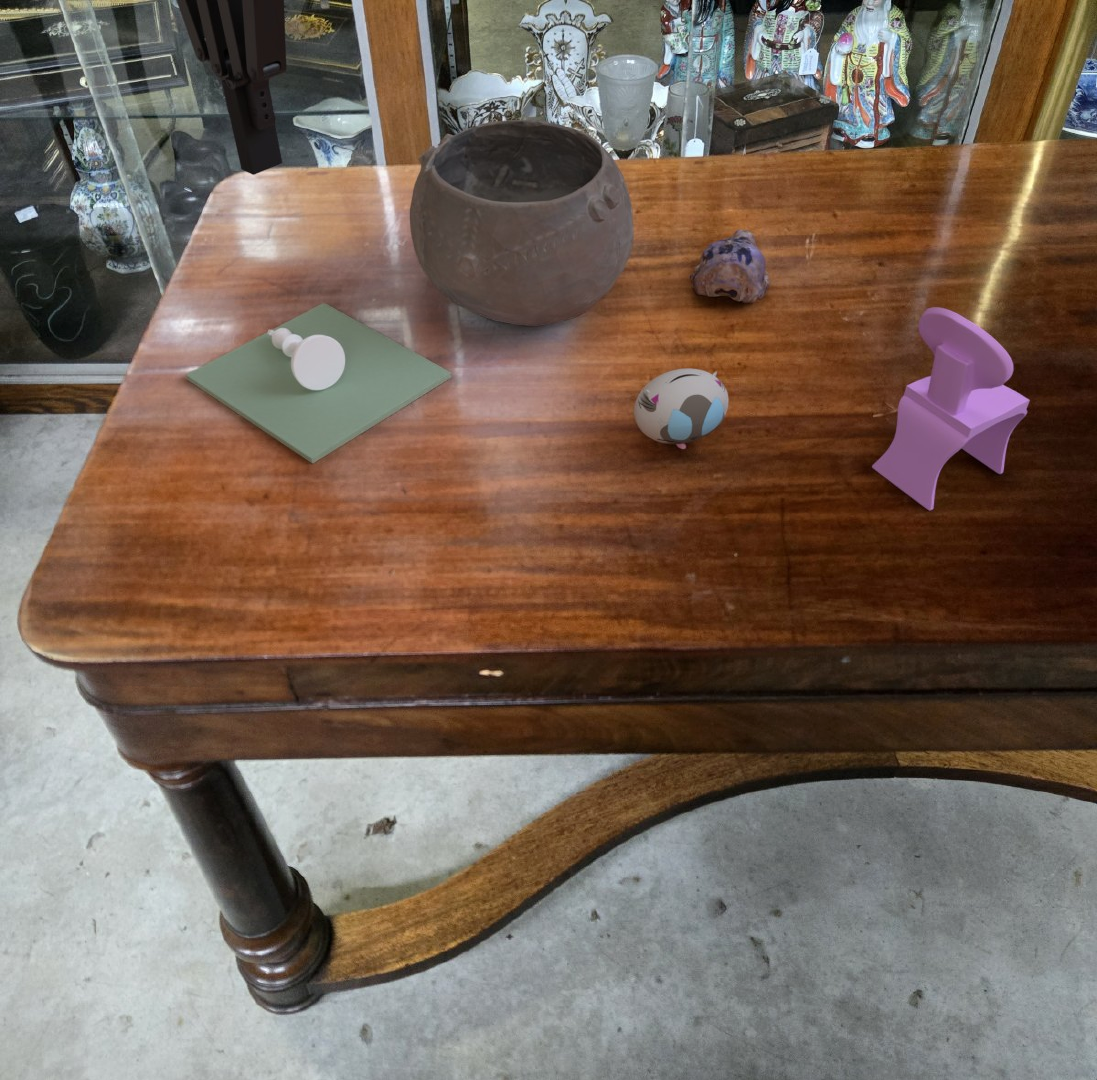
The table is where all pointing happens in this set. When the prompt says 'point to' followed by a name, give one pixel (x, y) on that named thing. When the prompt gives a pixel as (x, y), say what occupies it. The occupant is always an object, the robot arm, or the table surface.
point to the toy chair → (952, 407)
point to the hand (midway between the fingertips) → (262, 165)
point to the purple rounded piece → (732, 269)
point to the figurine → (681, 406)
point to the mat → (319, 415)
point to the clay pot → (521, 220)
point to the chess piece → (311, 358)
